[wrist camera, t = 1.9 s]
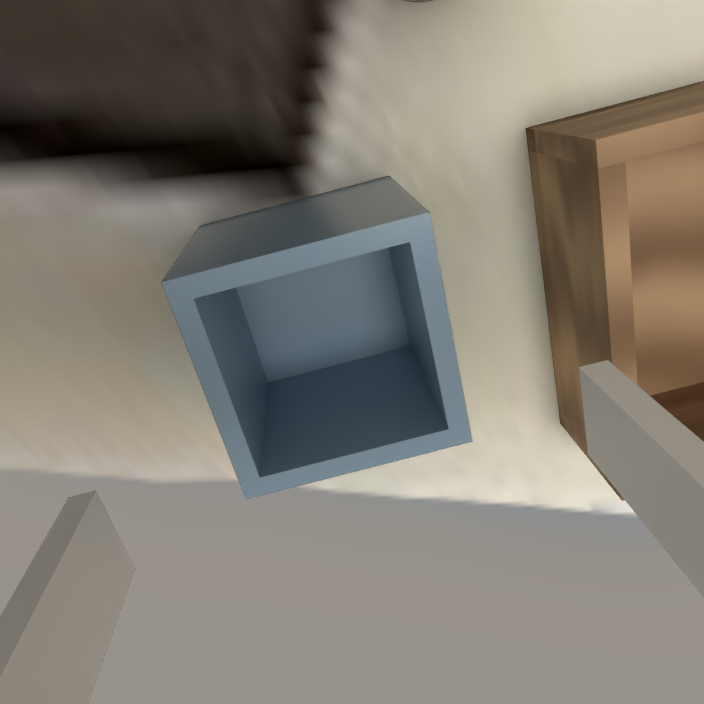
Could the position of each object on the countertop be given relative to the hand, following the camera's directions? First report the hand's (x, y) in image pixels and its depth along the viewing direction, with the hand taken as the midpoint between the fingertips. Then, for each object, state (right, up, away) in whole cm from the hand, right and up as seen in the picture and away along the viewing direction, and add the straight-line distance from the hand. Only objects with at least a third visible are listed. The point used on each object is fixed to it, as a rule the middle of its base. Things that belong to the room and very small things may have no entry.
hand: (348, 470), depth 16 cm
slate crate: (-1, +6, +14) cm, 15 cm away
